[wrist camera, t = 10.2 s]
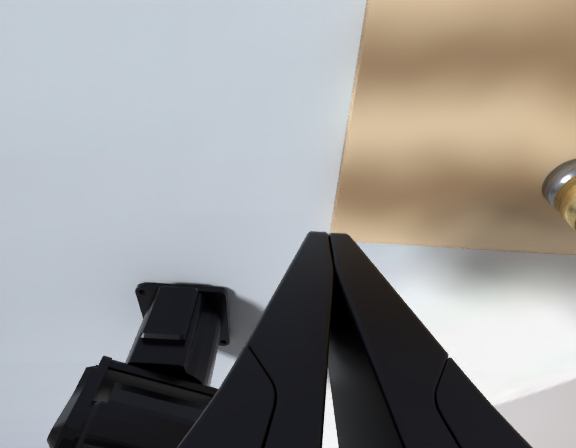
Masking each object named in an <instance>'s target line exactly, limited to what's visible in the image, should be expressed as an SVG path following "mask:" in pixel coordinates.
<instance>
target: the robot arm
mask: <svg viewBox="0 0 576 448" xmlns="http://www.w3.org/2000/svg"><path fill="white" fill-rule="evenodd" d="M135 292H136V296H137V299H138V302H139V306H140V309H141V312H142V316H143V321H142V324H141V326H140V329H139V331H138V333H137V336H136V338H135V341H134V343H133V345H132V348H131V350H130V353H129V355H128V357H127V360H126V362H125V363H122V362H119V361H115V360H112V358H110V357H107V356H103V357H102V359H101V361H100V363H99V365H96V366H92V367H86V369H85V371H84V373H83V375H82V377H81V379H80V381H79V383H78V385H77V387H76V389H75V391H74V393H73V395H72V396H71V398H70V400H69V401H68V403H67V405H66V406H65V408H64V410H63V411H62V413H61V415H60V416H59V418H58V419H57V421H56V423H55V424H54V426H53V428H52V430H51V432H50V434H49V436H48V438H47V442H48V444H49V447H50V448H322V439H323V425H324V411H325V397H326V383H327V369H329V377H330V384H331V392H332V399H333V407H334V415H335V422H336V430H337V437H338V445H339V448H532V447H531V446H530V445H529V443H528V442H527V441H526V440H525V439H524V438H523V437H522V436H521V435H520V434H519V433H518V432H517V431H516V430H515V429H514V428H513V427H512V426H511V425H510V424H509V423H508V422H507V421H506V419H505V418H504V417H503V416H502V415H501V414H500V413H499V412H498V411H497V410H496V409H495V408H494V407H493V406H492V405H491V404H490V402H489V401H488V400H487V399H486V398H485V397H484V396H483V394H482V393H481V392H480V391H479V390H478V389H477V387H476V386H475V385H474V384H473V383H472V382H471V381H470V379H469V378H468V377H467V376H466V375H465V374H464V372H463V371H462V370H461V369H460V368H459V366H458V365H457V364H456V363H455V362H454V360H453V359H452V358H448V353H447V352H446V351H445V350H444V349H443V347H442V346H441V345H440V344H439V343H438V341H437V340H436V339H435V338H434V337H433V335H432V334H431V333H430V332H429V331H428V329H427V328H426V327H425V326H424V325H423V323H422V322H421V321H420V320H419V318H418V317H417V316H416V315H415V314H414V312H413V311H412V310H411V309H410V308H409V306H408V305H407V304H406V303H405V302H404V300H403V299H402V298H401V297H400V296H399V294H398V293H397V292H396V291H395V290H394V288H393V287H392V286H391V285H390V284H389V282H388V281H387V280H386V279H385V278H384V276H383V275H382V274H381V273H380V272H379V270H378V269H377V268H376V267H375V266H374V264H373V263H372V262H371V261H370V260H369V258H368V257H367V256H366V255H365V253H364V252H363V251H362V250H361V249H360V247H359V246H358V245H357V244H356V243H355V241H354V240H353V239H352V238H351V237H350V236H349V235H348V234H346V233H330V234H329V235H328V234H327V233H326V232H315V231H311V232H309V233H308V234H307V236H306V238H305V239H304V241H303V243H302V245H301V247H300V248H299V250H298V252H297V254H296V255H295V257H294V259H293V261H292V263H291V264H290V266H289V268H288V270H287V271H286V273H285V275H284V277H283V279H282V280H281V282H280V284H279V286H278V287H277V289H276V291H275V293H274V295H273V296H272V298H271V300H270V302H269V303H268V305H267V307H266V309H265V311H264V312H263V314H262V316H261V318H260V319H259V321H258V323H257V325H256V327H255V328H254V330H253V332H252V334H251V335H250V337H249V339H248V341H247V343H246V346H245V347H243V349H242V351H241V353H240V354H239V356H238V358H237V360H236V362H235V363H234V365H233V367H232V368H231V370H230V372H229V373H228V375H227V376H226V378H225V380H224V381H223V383H222V385H221V386H220V388H219V389H217V388H213V387H210V384H211V379H212V374H213V369H214V364H215V359H216V354H217V349H218V345H221V346H226V345H228V344H229V343H230V327H229V313H228V299H227V291H226V290H225V289H223V288H213V287H196V286H179V285H162V284H145V283H142V284H138V286H137V288H136V290H135Z"/></svg>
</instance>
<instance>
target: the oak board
mask: <svg viewBox="0 0 576 448" xmlns="http://www.w3.org/2000/svg"><path fill="white" fill-rule="evenodd" d="M572 159H576V0H367V4H366V10H365V17H364V23H363V29H362V35H361V42H360V48H359V54H358V60H357V67H356V73H355V79H354V85H353V92H352V98H351V104H350V110H349V116H348V123H347V129H346V135H345V141H344V148H343V154H342V160H341V166H340V173H339V179H338V185H337V191H336V198H335V204H334V210H333V216H332V223H331V229H330V232H331V233H346V234H348V235H349V236H350V237H351V238H352V239H353V240H354V241H355V242H369V243H386V244H402V245H419V246H436V247H452V248H469V249H485V250H502V251H519V252H535V253H552V254H569V255H576V231H575V230H574V229H573V228H572V227H571V226H570V225H569V224H568V222H567V221H566V220H565V219H564V218H563V217H562V216H561V215H560V214H559V213H558V212H557V211H556V210H555V209H554V208H553V206H552V205H551V204H550V203H549V202H548V201H547V200H546V199H545V198H544V196H543V194H542V185H543V182H544V180H545V178H546V177H547V176H548V174H549V173H550V172H551V171H552V170H554V169H555V168H556V167H557V166H559V165H561V164H562V163H564V162H566V161H569V160H572Z"/></svg>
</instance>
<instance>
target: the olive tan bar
mask: <svg viewBox="0 0 576 448" xmlns="http://www.w3.org/2000/svg"><path fill="white" fill-rule="evenodd" d="M554 207H555V209H556V211H557V212H558V213H559V214H560V215H561V216H562V217H563V218H564V219H565V220H566V221H567V222H568V224H569V225H570V226H571V227H572V228H573V229H574V230H575V220H576V176H574V177H573V178H571V179H570V180H568V181H567V182H566V183H565V184H564V185H563V186H562V187H561V188H560V189H559V190H558V192H557V194H556V196H555V198H554ZM575 231H576V230H575Z"/></svg>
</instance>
